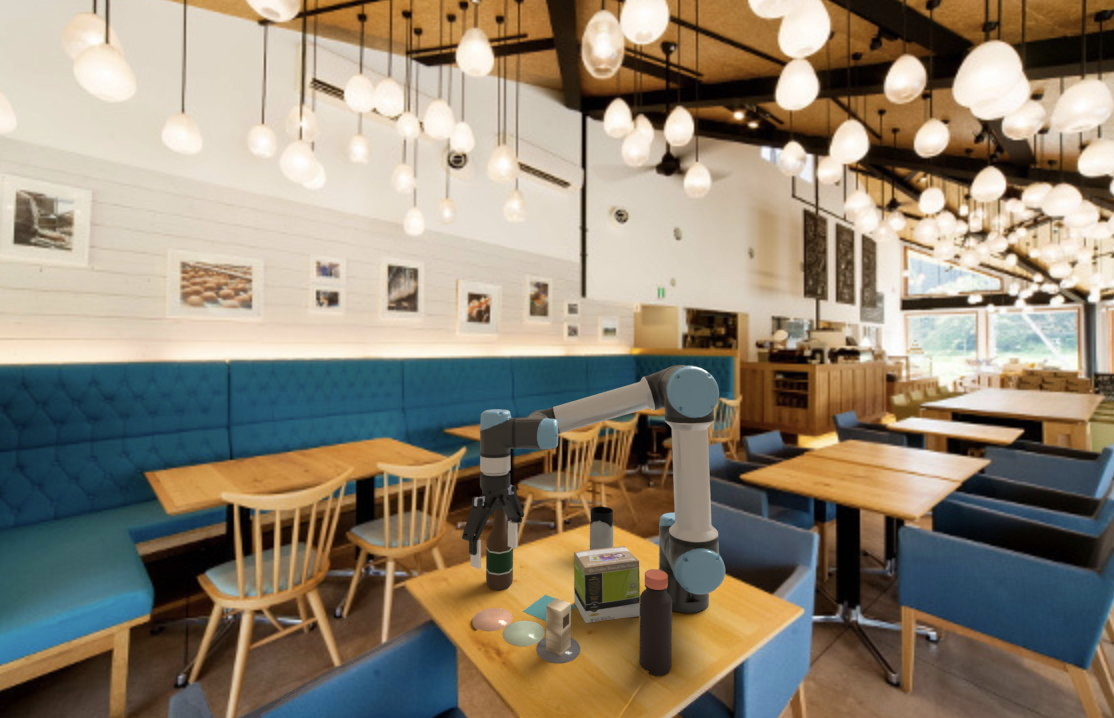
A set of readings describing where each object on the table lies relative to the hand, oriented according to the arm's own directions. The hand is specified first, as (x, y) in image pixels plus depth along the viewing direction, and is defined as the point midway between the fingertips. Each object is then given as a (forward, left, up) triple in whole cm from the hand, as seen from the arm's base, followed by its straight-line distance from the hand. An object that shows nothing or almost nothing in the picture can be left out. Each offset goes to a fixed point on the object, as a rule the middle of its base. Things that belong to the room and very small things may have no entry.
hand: (495, 556), depth 115 cm
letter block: (-19, 0, -16) cm, 25 cm away
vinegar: (-39, -8, -17) cm, 44 cm away
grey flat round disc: (-19, 0, -17) cm, 25 cm away
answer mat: (-8, -12, -17) cm, 22 cm away
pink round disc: (+1, 0, -17) cm, 17 cm away
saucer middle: (-9, 0, -17) cm, 19 cm away
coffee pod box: (-20, -21, -17) cm, 34 cm away
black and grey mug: (-2, -52, -17) cm, 55 cm away
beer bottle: (+12, -15, -17) cm, 25 cm away
